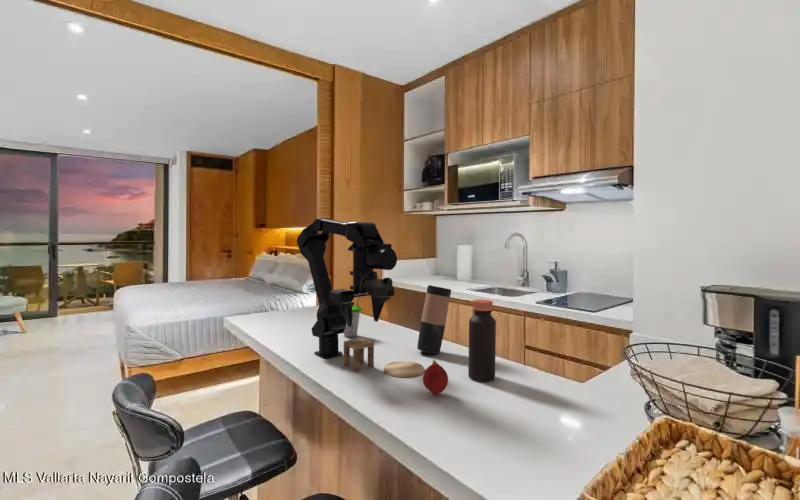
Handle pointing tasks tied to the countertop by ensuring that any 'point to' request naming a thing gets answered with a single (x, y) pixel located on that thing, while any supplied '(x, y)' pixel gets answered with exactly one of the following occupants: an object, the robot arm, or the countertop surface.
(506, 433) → the countertop surface
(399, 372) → the trivet
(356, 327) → the cup
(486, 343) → the bottle
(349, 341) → the tan block with prongs
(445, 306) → the travel mug
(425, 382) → the onion
